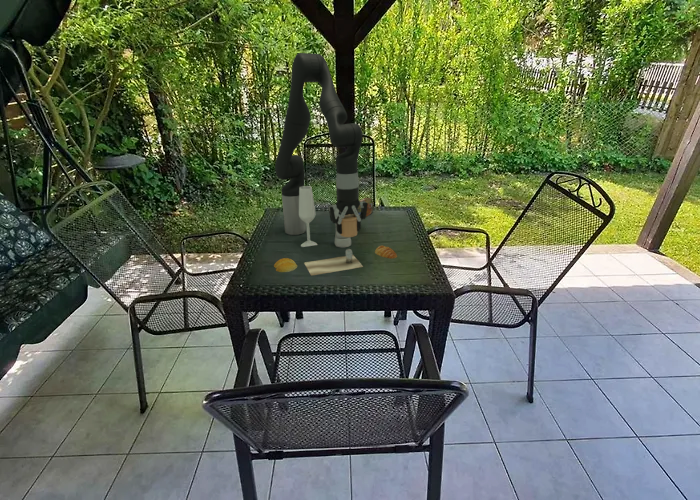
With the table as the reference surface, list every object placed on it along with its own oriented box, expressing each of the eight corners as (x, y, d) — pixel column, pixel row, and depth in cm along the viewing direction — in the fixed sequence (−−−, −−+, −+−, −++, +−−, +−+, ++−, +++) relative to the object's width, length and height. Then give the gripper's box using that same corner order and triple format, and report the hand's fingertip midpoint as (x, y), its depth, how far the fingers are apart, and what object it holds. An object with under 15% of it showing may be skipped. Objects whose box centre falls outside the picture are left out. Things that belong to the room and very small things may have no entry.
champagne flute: (297, 246, 173) (293, 188, 163) (306, 240, 178) (303, 184, 169) (311, 249, 170) (308, 190, 160) (320, 243, 175) (317, 186, 166)
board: (304, 266, 156) (303, 262, 155) (353, 258, 161) (353, 254, 161) (311, 279, 146) (311, 275, 146) (363, 270, 152) (363, 266, 151)
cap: (338, 232, 152) (337, 215, 149) (353, 230, 154) (353, 213, 151) (343, 238, 147) (343, 220, 144) (359, 235, 149) (359, 218, 146)
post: (344, 261, 155) (344, 248, 153) (351, 260, 156) (350, 247, 154) (347, 263, 153) (346, 250, 151) (353, 262, 154) (353, 249, 152)
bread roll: (277, 278, 148) (276, 267, 146) (272, 267, 156) (271, 257, 154) (300, 273, 151) (300, 263, 149) (294, 263, 158) (293, 254, 157)
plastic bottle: (349, 251, 167) (348, 202, 159) (332, 250, 168) (331, 201, 160) (352, 245, 173) (352, 197, 165) (336, 244, 174) (335, 197, 166)
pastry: (402, 259, 160) (402, 250, 158) (388, 264, 156) (388, 255, 155) (385, 252, 167) (385, 243, 165) (372, 256, 163) (372, 247, 162)
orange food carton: (357, 221, 199) (357, 204, 195) (352, 220, 200) (351, 203, 197) (374, 212, 210) (374, 196, 207) (368, 211, 212) (368, 195, 209)
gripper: (363, 180, 149) (364, 226, 155) (323, 185, 145) (326, 231, 151) (371, 185, 142) (371, 232, 149) (330, 190, 138) (332, 238, 145)
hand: (348, 231), depth 150 cm, fingers closed on cap, 5 cm apart
